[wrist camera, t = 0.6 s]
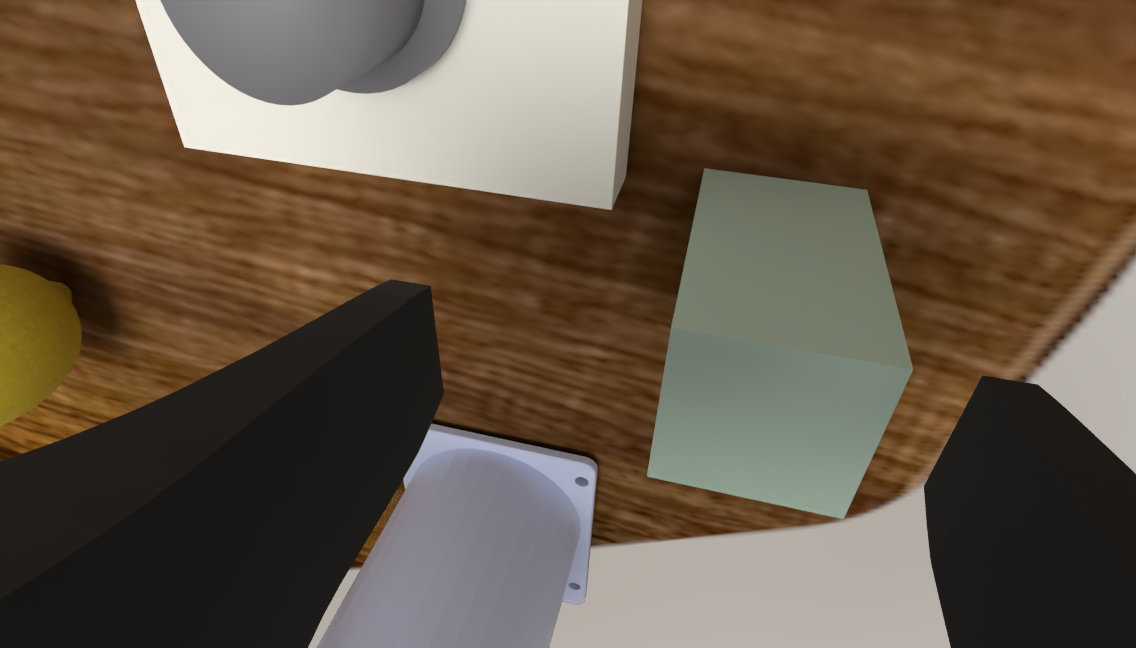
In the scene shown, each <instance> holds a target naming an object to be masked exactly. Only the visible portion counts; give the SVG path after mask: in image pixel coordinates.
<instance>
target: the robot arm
mask: <svg viewBox="0 0 1136 648" xmlns="http://www.w3.org/2000/svg"><path fill="white" fill-rule="evenodd" d="M443 394H444V391H443V383H442V375H441V367H440V359H439V351H438V343H437V335H436V326H435V318H434V310H433V302H432V294H431V286H428V285H422V284H415V283H409V282H403V281H397V280H389V281H387V282H385V283H383V284H380V285H378V286H376V287H374V288H372V289H370V290H368V291H366V292H364V293H363V294H361V295H359V296H357V297H355V298H353V299H351V300H350V301H348V302H346V303H344V304H342V305H340V306H339V307H337V308H335V309H333V310H331V311H330V312H328V313H326V314H324V315H322V316H321V317H319V318H317V319H315V320H313V321H312V322H310V323H308V324H306V325H304V326H302V327H301V328H299V329H297V330H295V331H293V332H291V333H289V334H288V335H286V336H284V337H282V338H280V339H278V340H277V341H275V342H273V343H271V344H269V345H267V346H266V347H264V348H262V349H260V350H258V351H256V352H254V353H252V354H250V355H248V356H246V357H244V358H242V359H240V360H238V361H236V362H234V363H232V364H230V365H228V366H226V367H224V368H222V369H220V370H218V371H216V372H214V373H212V374H210V375H208V376H206V377H204V378H202V379H200V380H198V381H196V382H194V383H192V384H190V385H188V386H186V387H184V388H182V389H180V390H178V391H176V392H174V393H172V394H170V395H167V396H165V397H163V398H161V399H159V400H156V401H154V402H152V403H150V404H147V405H145V406H143V407H141V408H138V409H136V410H134V411H132V412H129V413H127V414H124V415H122V416H119V417H117V418H115V419H112V420H110V421H107V422H105V423H102V424H100V425H98V426H95V427H93V428H90V429H88V430H85V431H83V432H81V433H78V434H75V435H73V436H70V437H68V438H65V439H63V440H60V441H57V442H54V443H52V444H49V445H46V446H43V447H40V448H38V449H35V450H32V451H29V452H26V453H23V454H21V455H18V456H15V457H12V458H9V459H6V460H4V461H1V462H0V648H308V646H309V644H310V642H311V640H312V638H313V636H314V634H315V631H316V629H317V627H318V625H319V623H320V621H321V619H322V617H323V615H324V613H325V611H326V609H327V607H328V605H329V604H330V602H331V600H332V598H333V597H334V595H335V593H336V591H337V589H338V587H339V586H340V584H341V582H342V580H343V579H344V577H345V575H346V573H347V572H348V570H349V569H350V567H351V565H352V564H353V562H354V560H355V559H356V557H357V555H358V554H359V552H360V550H361V549H362V547H363V545H364V544H365V542H366V540H367V539H368V537H369V535H370V534H371V532H372V530H373V529H374V527H375V525H376V524H377V522H378V520H379V519H380V517H381V515H382V514H383V512H384V510H385V509H386V507H387V505H388V504H389V502H390V500H391V499H392V497H393V495H394V494H395V492H396V490H397V489H398V487H399V485H400V484H401V482H402V480H403V481H404V486H405V492H404V493H403V495H402V497H401V499H400V501H399V502H398V504H397V506H396V508H395V509H394V511H393V513H392V515H391V517H390V518H389V520H388V522H387V524H386V525H385V527H384V529H383V531H382V533H381V534H380V536H379V538H378V540H377V541H376V543H375V545H374V547H373V549H372V550H371V552H370V554H369V556H368V557H367V559H366V561H365V563H364V565H363V566H362V568H361V570H360V572H359V573H358V575H357V577H356V579H355V581H354V582H353V584H352V586H351V588H350V589H349V591H348V593H347V595H346V597H345V598H344V600H343V602H342V604H341V605H340V607H339V609H338V611H337V613H336V614H335V616H334V618H333V620H332V621H331V623H330V625H329V627H328V629H327V631H326V632H325V634H324V636H323V637H322V639H321V641H320V643H319V645H318V646H317V648H549V645H550V642H551V638H552V635H553V631H554V628H555V624H556V620H557V617H558V613H559V610H560V606H561V602H562V601H563V602H567V603H571V604H575V605H579V604H582V603H584V601H585V597H586V590H587V579H588V568H589V557H590V547H591V536H592V525H593V514H594V503H595V492H596V482H597V471H598V468H597V464H596V463H595V462H594V461H593V460H592V459H590V458H587V457H584V456H580V455H575V454H570V453H566V452H561V451H556V450H552V449H547V448H542V447H538V446H533V445H528V444H524V443H519V442H515V441H510V440H505V439H501V438H496V437H491V436H487V435H482V434H477V433H473V432H468V431H463V430H459V429H454V428H450V427H445V426H440V425H436V424H431V423H432V421H433V418H434V416H435V413H436V411H437V409H438V406H439V404H440V401H441V399H442V396H443ZM582 477H583V478H582ZM924 493H925V504H926V517H927V518H926V519H927V530H928V540H929V549H930V558H931V564H932V569H933V573H934V578H935V582H936V586H937V591H938V595H939V599H940V603H941V608H942V612H943V616H944V620H945V625H946V629H947V633H948V637H949V642H950V646H951V648H1136V474H1135V473H1134V472H1133V471H1132V470H1131V469H1130V468H1129V467H1128V466H1127V465H1126V464H1125V463H1124V462H1123V461H1121V460H1120V459H1119V458H1118V457H1117V456H1116V455H1115V454H1114V453H1113V452H1112V451H1111V450H1110V449H1109V448H1107V446H1105V445H1104V444H1103V443H1102V442H1101V441H1100V440H1099V439H1098V438H1097V437H1096V436H1095V435H1094V434H1093V433H1092V432H1091V431H1090V430H1088V429H1087V428H1086V427H1085V426H1084V425H1083V424H1082V423H1081V422H1080V421H1078V419H1077V418H1076V417H1074V416H1073V415H1072V414H1071V413H1070V412H1069V411H1068V410H1067V409H1066V408H1065V407H1063V406H1062V405H1061V404H1060V403H1059V402H1058V401H1057V400H1056V399H1054V398H1053V397H1052V396H1051V395H1050V394H1048V393H1047V392H1046V391H1045V390H1043V389H1042V388H1041V387H1040V386H1039V385H1036V384H1031V383H1024V382H1018V381H1012V380H1006V379H1000V378H994V377H988V376H982V377H981V379H980V381H979V383H978V385H977V387H976V389H975V391H974V393H973V394H972V396H971V398H970V400H969V402H968V404H967V406H966V408H965V410H964V412H963V413H962V415H961V417H960V419H959V421H958V423H957V425H956V427H955V429H954V430H953V432H952V434H951V436H950V438H949V440H948V442H947V444H946V446H945V447H944V449H943V451H942V453H941V455H940V457H939V459H938V461H937V463H936V465H935V466H934V468H933V470H932V472H931V474H930V476H929V478H928V480H927V482H926V483H925V485H924Z"/></svg>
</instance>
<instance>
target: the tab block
mask: <svg viewBox="0 0 1136 648" xmlns="http://www.w3.org/2000/svg"><path fill="white" fill-rule="evenodd" d="M912 371H913V367H912V363H911V359H910V355H909V351H908V348H907V344H906V340H905V336H904V332H903V328H902V324H901V320H900V316H899V312H898V309H897V305H896V301H895V297H894V293H893V289H892V285H891V281H890V277H889V273H888V270H887V266H886V262H885V258H884V254H883V250H882V246H881V242H880V238H879V234H878V231H877V227H876V223H875V219H874V215H873V211H872V207H871V203H870V199H869V195H868V192H867V190H865V189H857V188H850V187H842V186H834V185H827V184H819V183H812V182H804V181H797V180H789V179H782V178H774V177H766V176H759V175H751V174H744V173H736V172H729V171H721V170H713V169H706V168H704V173H703V177H702V182H701V187H700V192H699V196H698V201H697V206H696V211H695V216H694V220H693V225H692V230H691V235H690V239H689V244H688V249H687V254H686V259H685V263H684V268H683V273H682V278H681V282H680V287H679V292H678V297H677V302H676V306H675V311H674V316H673V321H672V325H671V331H670V337H669V343H668V350H667V356H666V362H665V368H664V374H663V380H662V387H661V393H660V399H659V405H658V411H657V417H656V424H655V430H654V436H653V442H652V448H651V454H650V460H649V467H648V473H647V477H651V478H656V479H661V480H665V481H670V482H675V483H679V484H684V485H688V486H693V487H698V488H702V489H707V490H712V491H716V492H721V493H725V494H730V495H735V496H739V497H744V498H748V499H753V500H758V501H762V502H767V503H772V504H776V505H781V506H785V507H790V508H795V509H799V510H804V511H808V512H813V513H818V514H822V515H827V516H832V517H836V518H841V519H844V517H845V515H846V512H847V510H848V508H849V506H850V504H851V502H852V500H853V497H854V495H855V493H856V491H857V489H858V487H859V485H860V482H861V480H862V478H863V476H864V474H865V472H866V470H867V467H868V465H869V463H870V461H871V459H872V457H873V455H874V452H875V450H876V448H877V446H878V444H879V442H880V440H881V438H882V435H883V433H884V431H885V429H886V427H887V425H888V423H889V420H890V418H891V416H892V414H893V412H894V410H895V408H896V405H897V403H898V401H899V399H900V397H901V395H902V393H903V390H904V388H905V386H906V384H907V382H908V380H909V378H910V375H911V373H912Z"/></svg>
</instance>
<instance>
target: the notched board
mask: <svg viewBox="0 0 1136 648" xmlns="http://www.w3.org/2000/svg"><path fill="white" fill-rule="evenodd" d="M642 1H643V0H136V3H137V7H138V10H139V13H140V16H141V19H142V22H143V25H144V28H145V31H146V34H147V37H148V40H149V43H150V46H151V49H152V52H153V55H154V58H155V61H156V64H157V67H158V70H159V73H160V76H161V79H162V82H163V85H164V88H165V91H166V94H167V97H168V100H169V103H170V106H171V109H172V112H173V115H174V118H175V121H176V124H177V127H178V130H179V133H180V136H181V139H182V142H183V145H184V147H186V148H193V149H200V150H206V151H213V152H220V153H227V154H234V155H240V156H247V157H254V158H261V159H268V160H274V161H281V162H288V163H295V164H302V165H308V166H315V167H322V168H329V169H336V170H343V171H349V172H356V173H363V174H370V175H377V176H383V177H390V178H397V179H404V180H411V181H417V182H424V183H431V184H438V185H445V186H451V187H458V188H465V189H472V190H479V191H485V192H492V193H499V194H506V195H513V196H519V197H526V198H533V199H540V200H547V201H554V202H560V203H567V204H574V205H581V206H588V207H594V208H601V209H608V210H612V208H613V205H614V203H615V201H616V199H617V196H618V194H619V192H620V189H621V187H622V185H623V182H624V180H625V178H626V171H627V161H628V150H629V139H630V129H631V118H632V107H633V97H634V86H635V75H636V65H637V54H638V43H639V33H640V22H641V11H642Z"/></svg>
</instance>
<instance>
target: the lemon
mask: <svg viewBox="0 0 1136 648" xmlns="http://www.w3.org/2000/svg"><path fill="white" fill-rule="evenodd" d="M81 340H82V327H81V323H80V319H79V316H78V313H77V311H76V309H75V307H74V306H73V304H72V292H71V290H70V289H69V288H68V287H67V286H66V285H65V284H63V283H59V282H53V281H48V280H47V279H45V278H43V277H42V276H39V275H37V274H35V273H33V272H30V271H28V270H25V269H22V268H18V267H14V266H9V265H4V264H0V426H2V425H4V424H6V423H9V422H10V421H12V420H14V419H16V418H18V417H20V416H21V415H23V414H25V413H26V412H28V411H30V410H31V409H33V408H34V407H35V406H37V405H38V404H40V403H41V402H42V401H43V400H45V399H46V398H47V397H48V396H49V395H50V394H51V393H53V392H54V391H55V390H56V389H57V387H58V386H59V385H60V384H61V383H62V382H63V381H64V379H65V378H66V376H67V375H68V374H69V372H70V371H71V369H72V367H73V366H74V364H75V362H76V360H77V358H78V355H79V352H80V348H81Z"/></svg>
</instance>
